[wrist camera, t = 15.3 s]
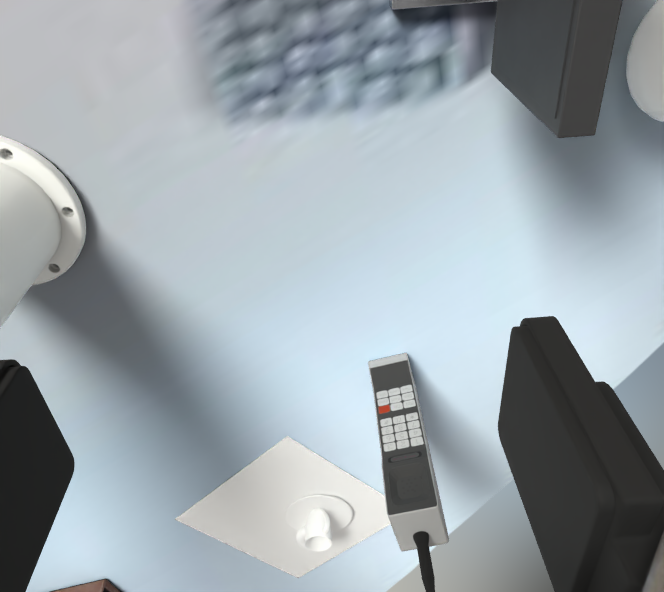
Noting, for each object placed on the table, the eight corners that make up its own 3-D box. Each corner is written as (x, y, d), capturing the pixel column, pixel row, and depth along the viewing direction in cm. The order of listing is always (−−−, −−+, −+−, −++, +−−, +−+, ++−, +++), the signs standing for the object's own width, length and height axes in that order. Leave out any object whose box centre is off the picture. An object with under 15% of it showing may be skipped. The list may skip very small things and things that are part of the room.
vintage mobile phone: (406, 350, 53) (465, 633, 33) (416, 387, 56) (476, 668, 35) (367, 359, 54) (402, 643, 33) (379, 395, 56) (418, 677, 36)
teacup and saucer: (315, 541, 71) (315, 573, 67) (266, 516, 67) (264, 548, 64) (365, 510, 67) (368, 542, 64) (317, 482, 64) (318, 514, 61)
